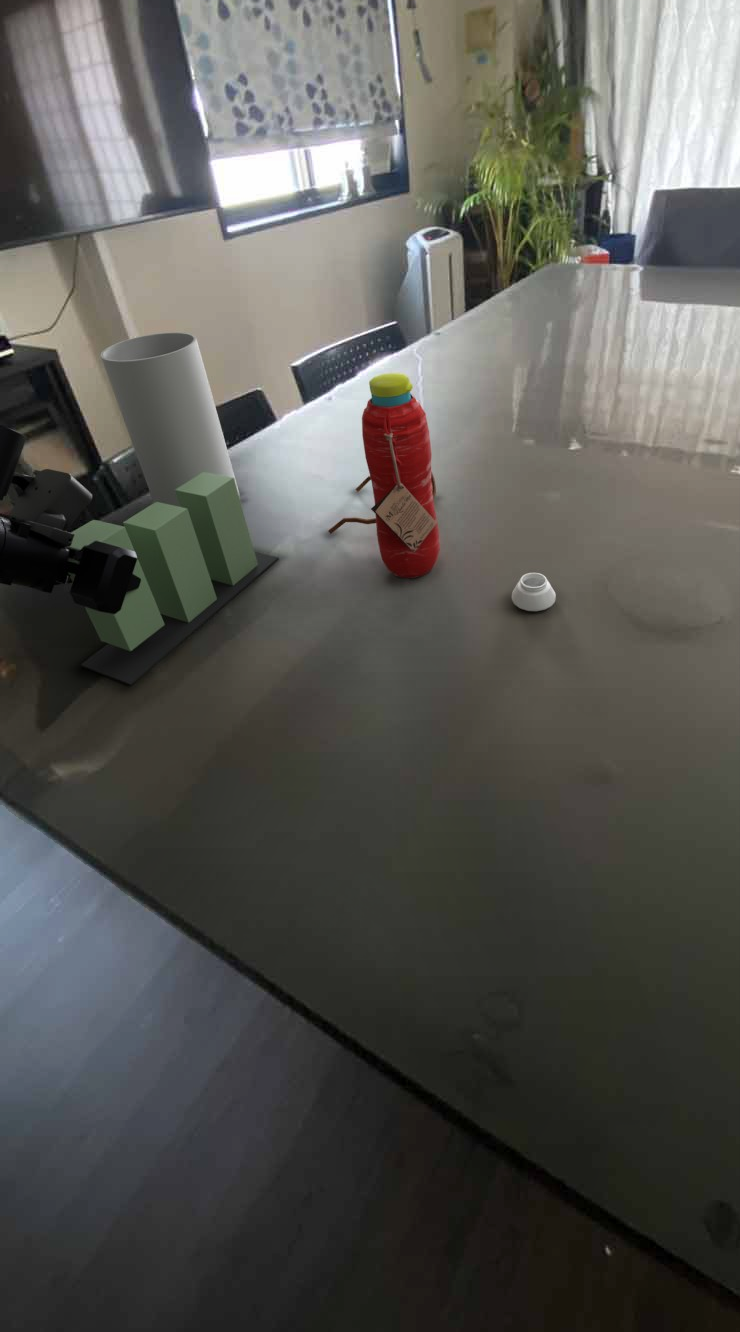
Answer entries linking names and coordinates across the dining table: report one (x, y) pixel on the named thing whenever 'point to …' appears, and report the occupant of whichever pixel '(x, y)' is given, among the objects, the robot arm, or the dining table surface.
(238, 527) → the far block
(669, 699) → the dining table surface
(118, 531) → the block
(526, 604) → the white jar
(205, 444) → the cylinder vase
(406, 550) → the water bottle
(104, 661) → the mat
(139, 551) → the middle block
